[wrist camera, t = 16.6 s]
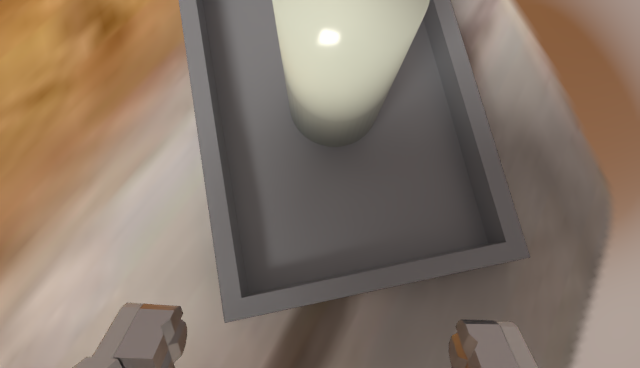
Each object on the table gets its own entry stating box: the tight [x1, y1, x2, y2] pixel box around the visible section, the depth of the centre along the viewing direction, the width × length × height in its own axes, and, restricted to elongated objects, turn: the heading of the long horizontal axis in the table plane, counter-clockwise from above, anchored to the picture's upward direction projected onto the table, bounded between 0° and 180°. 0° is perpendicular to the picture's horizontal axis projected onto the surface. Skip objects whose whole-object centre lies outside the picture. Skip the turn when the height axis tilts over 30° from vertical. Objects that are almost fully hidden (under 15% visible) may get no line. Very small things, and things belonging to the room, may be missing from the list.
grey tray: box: [179, 0, 530, 323], centre depth 21 cm, size 22×16×2 cm
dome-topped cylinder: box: [272, 0, 430, 147], centre depth 17 cm, size 6×6×10 cm
